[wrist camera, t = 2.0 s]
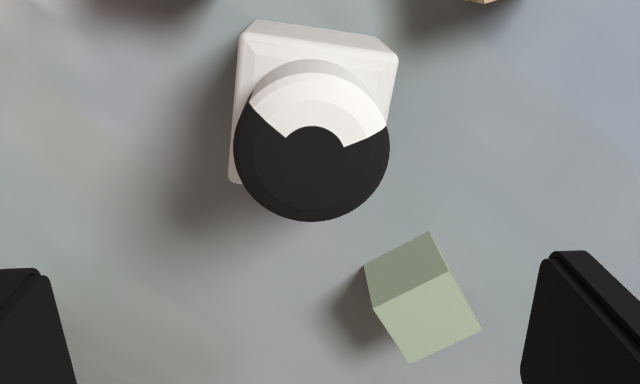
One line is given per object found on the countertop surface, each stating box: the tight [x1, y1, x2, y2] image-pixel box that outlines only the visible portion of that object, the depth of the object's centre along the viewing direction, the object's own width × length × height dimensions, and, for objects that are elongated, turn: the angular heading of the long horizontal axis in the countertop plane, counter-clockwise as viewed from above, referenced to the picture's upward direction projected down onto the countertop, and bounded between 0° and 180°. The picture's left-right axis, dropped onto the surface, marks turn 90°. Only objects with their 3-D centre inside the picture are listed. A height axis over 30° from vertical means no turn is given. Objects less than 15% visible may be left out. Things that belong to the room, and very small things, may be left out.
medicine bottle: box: [228, 19, 399, 222], centre depth 24 cm, size 7×7×12 cm
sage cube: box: [363, 231, 482, 364], centre depth 33 cm, size 5×5×5 cm
